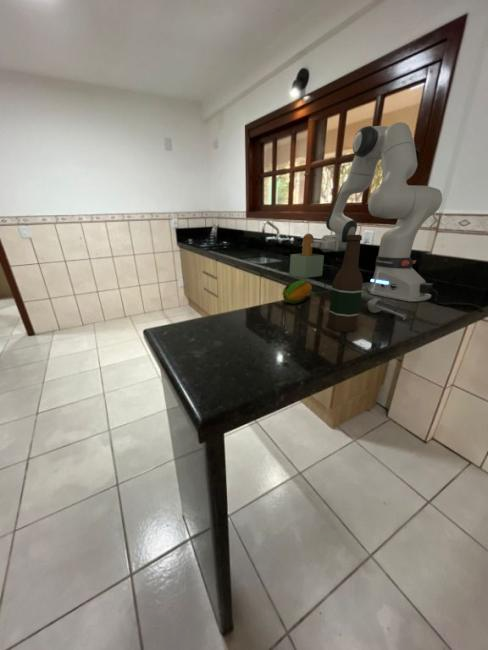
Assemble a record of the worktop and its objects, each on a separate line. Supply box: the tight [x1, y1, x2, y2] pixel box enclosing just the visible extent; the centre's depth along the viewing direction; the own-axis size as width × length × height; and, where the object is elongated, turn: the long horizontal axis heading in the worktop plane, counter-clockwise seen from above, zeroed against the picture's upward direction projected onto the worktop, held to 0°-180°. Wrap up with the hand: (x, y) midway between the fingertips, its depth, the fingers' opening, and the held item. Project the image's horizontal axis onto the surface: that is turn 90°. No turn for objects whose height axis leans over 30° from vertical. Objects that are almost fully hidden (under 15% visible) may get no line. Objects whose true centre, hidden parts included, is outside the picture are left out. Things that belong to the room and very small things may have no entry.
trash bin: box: [289, 253, 325, 279], centre depth 142 cm, size 12×12×11 cm
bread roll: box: [301, 233, 314, 257], centre depth 138 cm, size 5×5×12 cm
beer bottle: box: [327, 234, 364, 333], centre depth 67 cm, size 8×8×24 cm
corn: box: [281, 279, 313, 305], centre depth 96 cm, size 7×8×20 cm
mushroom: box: [366, 297, 408, 321], centre depth 81 cm, size 7×5×12 cm
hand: (306, 244), depth 138 cm, fingers closed on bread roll, 5 cm apart
